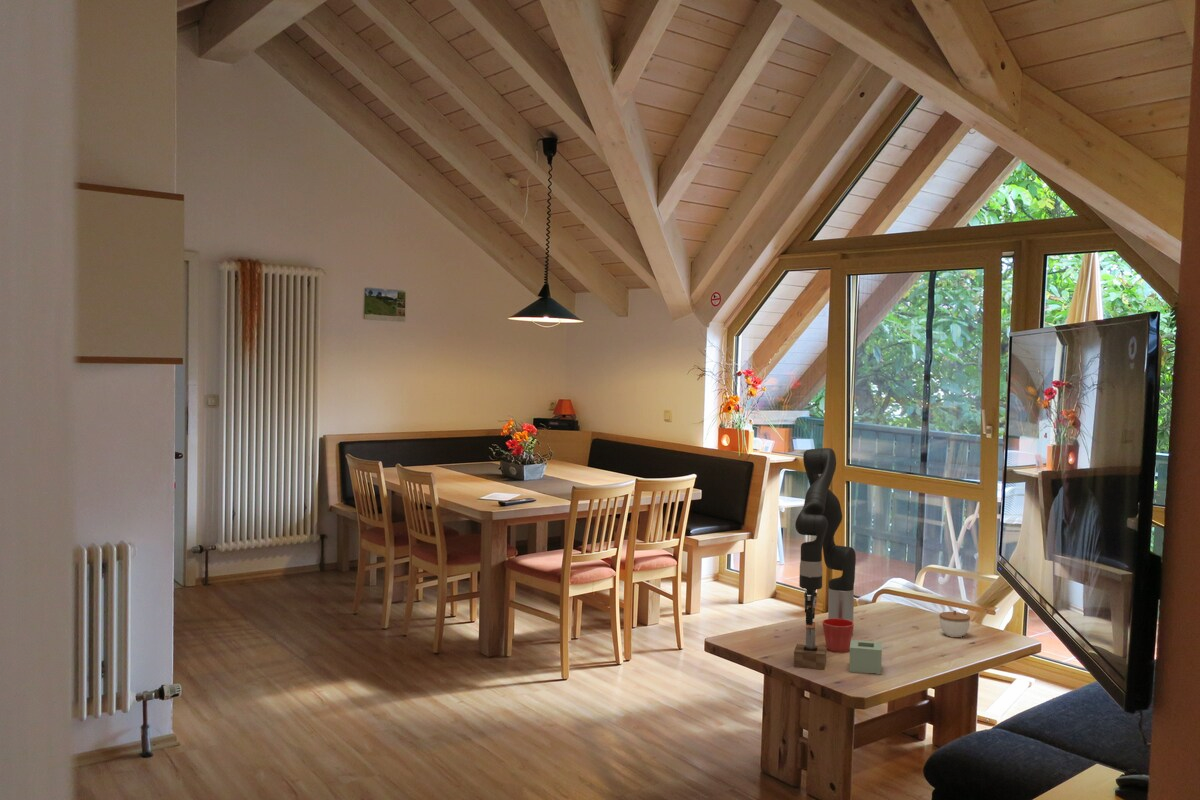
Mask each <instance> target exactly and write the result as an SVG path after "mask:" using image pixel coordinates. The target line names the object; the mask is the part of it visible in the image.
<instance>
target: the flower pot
mask: <svg viewBox="0 0 1200 800" xmlns="http://www.w3.org/2000/svg"><path fill="white" fill-rule="evenodd" d="M822 629H823V633H824V640H825V646H827V650H829V651H832V652H834V653H835V652H836V653H846V652H848V651H850V643H851V640H852V636H853V635H852V632H853V633H854V621H853V622H852V621H849V620H846V619H837V618H833V619H828V618H826V619H823V620H822Z"/></svg>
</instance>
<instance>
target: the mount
mask: <svg viewBox="0 0 1200 800" xmlns="http://www.w3.org/2000/svg"><path fill="white" fill-rule="evenodd" d="M827 650H828V649H827V646H826V645H816V644H815V651H806V644H805V643H804V644H803V643H796V645H795V647H794V651H793V667H794V668H804V669H817V670H826V669H825V668H826V664H827Z"/></svg>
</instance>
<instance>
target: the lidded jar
mask: <svg viewBox="0 0 1200 800" xmlns="http://www.w3.org/2000/svg"><path fill="white" fill-rule="evenodd" d="M970 619H971V617H970V615H969V614H967V613H964V612H957V611H956V610H952V611H943V612H939V625H940V629H941V631H942V632H943V633H944V634H945V636H946V635H947V636H946V637H948V636H950V637H949V638H953V637H961V638H963V637H964V636H965V635H966V634H967V633H968V631H969V627H970ZM962 636H963V637H962Z"/></svg>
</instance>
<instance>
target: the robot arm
mask: <svg viewBox="0 0 1200 800" xmlns="http://www.w3.org/2000/svg"><path fill="white" fill-rule="evenodd" d="M836 457H837V456H836V453H835V451H834V449H832V448H830V447H829V448H828V447H824V448H823V447H822V448H810V449H806V450H805V451H804V452H803V466H804V467H803V468H804V470H805V475H806V476H807V479H808V484H809V488H808V489H807V491H806V493H805V497H804V503H803V507H802V509H801V510H800V512H799V513H798V514H797V516H796V519H795V523H794V525H795V530H796V532H797V533H798V534H799V535H801V536H815V539H814V540H812V541H811V540H810V541H805V542H802V543H801V545H800V562H799V582H798V583H799V584H798V585H799V587H800V588H801V589H802V590H803V589H804V590H806V591H805V592H804V594H803V595H804V596H803V598H804V603H803V605H804V613H805V625H806V624H807V625H812V624H813V622H814V619H815V617H816V615H815V614H816V612H815V611H816V607H817V605H816V604H817V598H818V593H817V590H821V589H822V588H823V561H822V560H824V564H825V565H826V568H828V569H829V570H835V571H842V574H841V576H839V577H835V578H831V579H830V580H829V581H828V604H827V605H828V607H827V608H828V609H827V610H828V614H827V615H828V618H827V619H833V618H837V619H846V620H849V621H852V622H853V623H854V610H855V609H854V604H855V603H854V601H855V600H854V599H855V598H854V597H855V596H854V595H855V594H854V592H855V591H854V588H855V587H854V586H855V579H856V564H857V563H856V562H857V561H856V560H857V557H856V551H855V549H854V547H851V546H845V545H838V544H836V543H835V534H836V532H837V530H838V528H839V527H840V525H841V523H842V521H843V512H842V508H841V507H842V506H841V502H840V499H839V498H838V497H837V496H836V495H835V493H834V492H833V491H832V490H831V489H830V486H831V483H832V480H833V478H834V474H835V472H836V468H837V467H836V466H837V458H836ZM853 635H854V631H853V632H852V636H853Z"/></svg>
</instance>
